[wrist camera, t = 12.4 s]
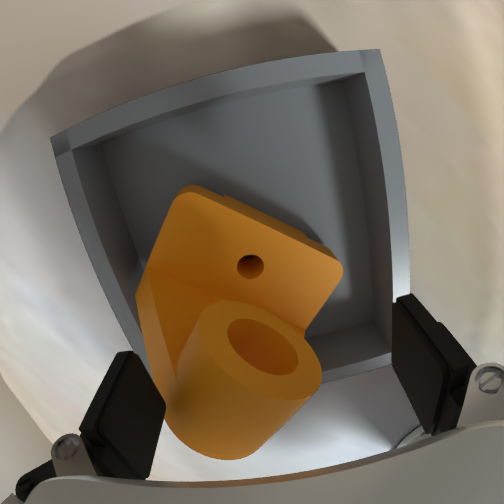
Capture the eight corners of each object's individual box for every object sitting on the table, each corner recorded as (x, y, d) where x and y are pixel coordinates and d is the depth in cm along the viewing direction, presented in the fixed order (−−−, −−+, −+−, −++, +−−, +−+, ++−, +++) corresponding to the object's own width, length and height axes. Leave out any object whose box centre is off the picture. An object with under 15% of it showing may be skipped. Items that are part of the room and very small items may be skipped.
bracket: (335, 248, 21) (427, 374, 10) (282, 328, 23) (319, 470, 12) (185, 176, 18) (131, 270, 7) (144, 274, 20) (88, 420, 9)
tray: (349, 65, 17) (379, 49, 12) (383, 321, 24) (405, 359, 20) (89, 133, 18) (50, 137, 14) (177, 365, 26) (167, 407, 21)
